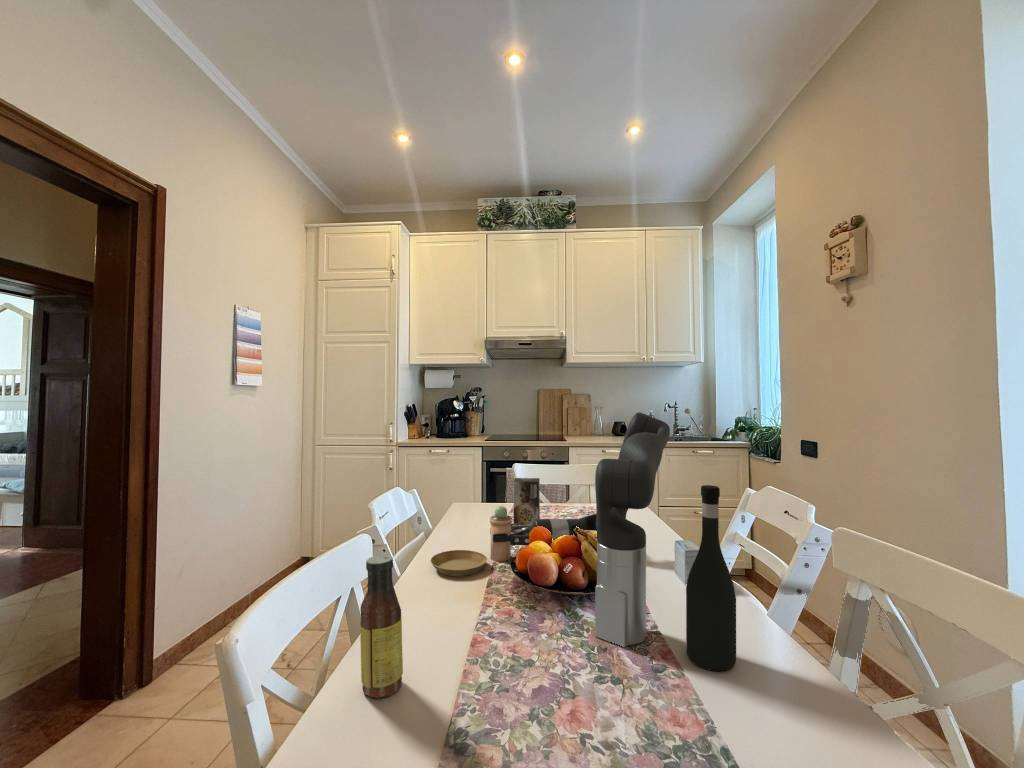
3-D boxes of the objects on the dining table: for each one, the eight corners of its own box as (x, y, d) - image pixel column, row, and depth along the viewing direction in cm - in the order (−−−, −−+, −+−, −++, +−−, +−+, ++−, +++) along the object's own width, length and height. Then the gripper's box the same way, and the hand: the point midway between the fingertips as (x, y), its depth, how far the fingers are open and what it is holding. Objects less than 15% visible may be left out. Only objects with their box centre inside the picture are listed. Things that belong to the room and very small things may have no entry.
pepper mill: (501, 563, 126) (501, 510, 126) (484, 558, 130) (485, 506, 130) (516, 557, 131) (516, 506, 131) (499, 552, 135) (500, 502, 135)
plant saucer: (458, 555, 133) (458, 545, 133) (498, 567, 124) (498, 557, 124) (418, 570, 121) (418, 560, 121) (459, 585, 112) (459, 574, 112)
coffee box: (540, 523, 166) (540, 477, 166) (539, 528, 159) (539, 481, 160) (514, 522, 166) (514, 477, 167) (512, 527, 160) (513, 480, 160)
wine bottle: (676, 652, 83) (676, 483, 84) (711, 644, 86) (710, 480, 86) (710, 678, 75) (709, 492, 76) (747, 668, 78) (746, 489, 79)
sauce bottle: (409, 679, 75) (411, 554, 75) (389, 704, 69) (391, 568, 69) (373, 672, 76) (375, 550, 77) (350, 696, 70) (352, 563, 71)
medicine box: (703, 586, 112) (703, 550, 112) (684, 586, 112) (684, 549, 112) (691, 573, 120) (691, 539, 120) (674, 573, 120) (674, 539, 120)
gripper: (544, 512, 140) (488, 514, 137) (557, 526, 126) (494, 528, 123) (544, 538, 140) (488, 540, 137) (556, 554, 126) (494, 557, 123)
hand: (491, 534), depth 130 cm, fingers closed on pepper mill, 5 cm apart
